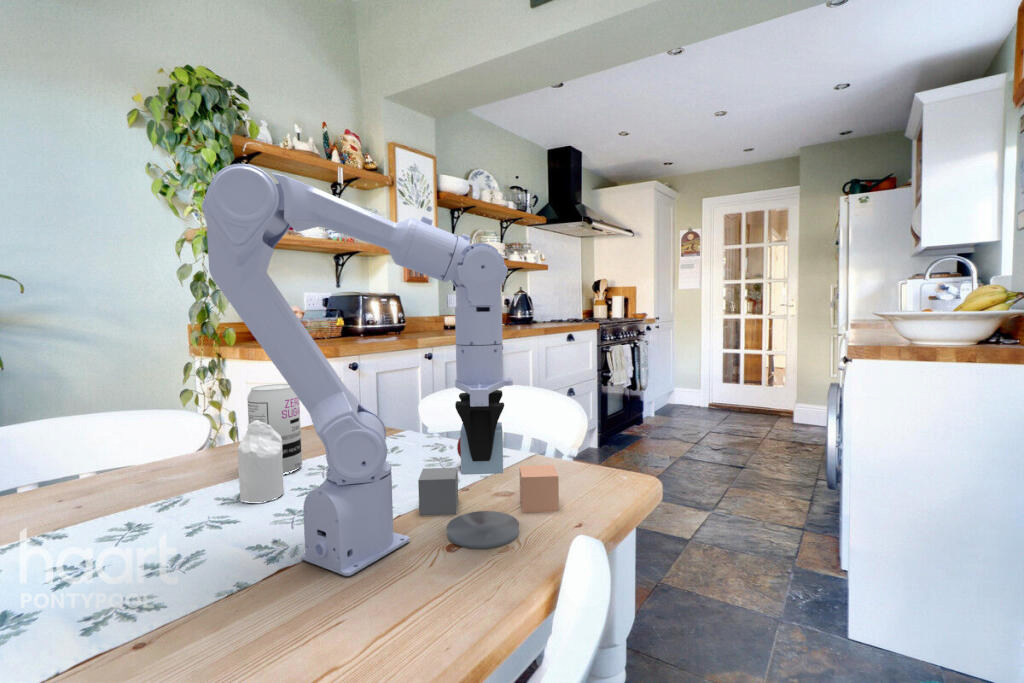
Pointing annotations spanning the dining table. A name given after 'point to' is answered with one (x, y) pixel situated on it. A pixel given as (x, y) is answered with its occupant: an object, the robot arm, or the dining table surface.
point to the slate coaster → (483, 529)
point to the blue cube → (482, 466)
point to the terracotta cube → (539, 488)
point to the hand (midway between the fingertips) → (481, 453)
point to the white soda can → (279, 418)
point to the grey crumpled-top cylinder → (260, 463)
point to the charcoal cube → (438, 491)
